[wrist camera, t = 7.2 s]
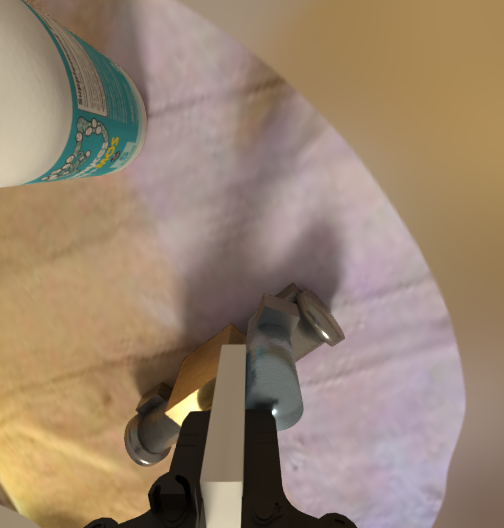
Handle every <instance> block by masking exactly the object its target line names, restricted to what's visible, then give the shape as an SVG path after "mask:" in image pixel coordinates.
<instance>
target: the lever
mask: <svg viewBox="0 0 504 528" xmlns="http://www.w3.org/2000/svg"><path fill="white" fill-rule="evenodd" d="M299 320H300V315H299V311H298V308H297V304H294V303H291V302H289V301H286V300H283V299H280V298H277V297H274V296H271V295H268V294H265V293H264V295H263V297H262V300H261V302H260V304H259V307H258V309H257V311H256V313H255V314H253V315H252V316H251V318H250V319H249V322H248V330H247V334H246V337H245V339H244V341H243V344H242V345H244V344H246V387H245V409H270V410H271V412H272V414H273V416H274V417H275V419H276V427H277V431H281V430H285V429H288V428H290V427H292V426H293V425H295V424H296V423H297V422H298V421H299V420H300V418H301V416H302V414H303V402H302V396H301V391H300V386H299V381H298V375H297V370H296V365H295V360H294V354H293V349H292V344H291V339H290V338H291V336H292V334H293V332H294V330H295V328H296V326H297V324H298V322H299ZM207 411H211V409H210V410H207Z"/></svg>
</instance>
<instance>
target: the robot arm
mask: <svg viewBox="0 0 504 528" xmlns="http://www.w3.org/2000/svg"><path fill="white" fill-rule="evenodd" d="M245 387H246V344H244V345H222V348H221V354H220V360H219V366H218V372H217V379H216V385H215V391H214V397H213V403H212V409H211V411H190V412H189V413H188V415H187V416H186V418H185V419H184V420H183V422H182V425H181V429H180V432H179V437H178V440H177V444H176V448H175V451H174V455H173V458H172V462H171V466H170V470H169V472H167V473H166V474H164V475H162V476H160V477H159V478H158V479H157V480H156V481H155V483H154V484H153V485H152V487H151V489H150V491H149V493H148V498H149V502H150V507H151V509H150V510H149V511H147V512H146V513H144V514H142V515H140V516H139V517H136V518H134V519H131V520H128V521H126V522H123V523H121V524H118V523H117V522H116V521H115V520H113V519H112V518H103V517H102V518H99V519H97V520H94V521H92V522H90V523H89V524H88V525H86V526H85V527H83V528H357V527H356V525H355V524H354V523H353V522H352V521H351V520H350V519H348V518H347V517H346V516H344V515H341V514H338V513H327V514H325V515H324V516H322V517H321V518H319V519H318V518H315V517H313V516H310V515H307V514H305V513H303V512H301V511H299V510H297V509H296V508H295V507H293V506H292V505H291V504H290V502H289V501H288V500H287V498H286V496H285V494H284V491H283V487H282V478H281V468H280V458H279V448H278V438H277V427H276V419H275V417H274V416H273V414H272V412H271V410H270V409H245Z"/></svg>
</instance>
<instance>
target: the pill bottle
mask: <svg viewBox="0 0 504 528" xmlns="http://www.w3.org/2000/svg"><path fill="white" fill-rule="evenodd" d="M146 133H147V116H146V110H145V106H144V103H143V100H142V97H141V95H140V93H139V91H138V89H137V87H136V86H135V84H134V83H133V81H132V80H131V78H130V77H129V76H128V75H127V74H126V72H125V71H124V70H123V69H122V68H121V67H119V66H118V65H117V64H116V63H114V62H113V61H112V60H110V59H109V58H108V57H106V56H105V55H103V54H102V53H100V52H99V51H97V50H96V49H95V48H93V47H92V46H90V45H89V44H87V43H86V42H84V41H83V40H81V39H80V38H79V37H77V36H76V35H74V34H73V33H71V32H70V31H68V30H67V29H65V28H64V27H62V26H61V25H60V24H58V23H57V22H55V21H54V20H53V19H51V18H50V17H48V16H47V15H45V14H44V13H42V12H41V11H39V10H38V9H37V8H35V7H34V6H32V5H31V4H29V3H28V2H26V1H25V0H0V187H9V186H19V185H26V184H34V183H42V182H50V181H58V180H66V179H75V178H84V177H91V176H100V175H106V174H111V173H115V172H118V171H120V170H122V169H124V168H126V167H127V166H128V165H130V164H131V163H132V162H133V161H134V160H135V159H136V157H137V156H138V155H139V153H140V151H141V150H142V147H143V145H144V142H145V138H146Z"/></svg>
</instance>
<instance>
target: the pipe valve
mask: <svg viewBox="0 0 504 528" xmlns="http://www.w3.org/2000/svg"><path fill="white" fill-rule="evenodd" d="M275 297H277V298H280V299H283V300H286V301H289V302H291V303H294V304H297V308H298V311H299V315H300V320H299V322H298V324H297V326H296V328H295V330H294V332H293V334H292V336H291V338H290V339H291V344H292V349H293V354H294V360H295V362H297V361H298V360H300V359H301V358H303V357H304V356H306V355H307V354H309V353H310V352H312V351H313V350H315V349H316V348H318V347H319V346H321V345H322V344H324V343H325V342H326V343H327V344H329V345H330V346H332V347H333V346H335V345H336V344H338V343H339V342H341V341H342V340H344V339H345V336H344V334H343V332H342V330H341V328H340V326H339V325H338V323H337V322H336V320H335V319H334V317H333V316H332V314H331V313H330V312H329V310H328V309H327V308H326V306H325V305H324V304H323V303H322V301H321V300H320V299H319V298H318V297H317V296H316V295H315V294H314V293H313V292H312V291H311V290H310V289H308V288H307V289H306V290H304V291H303V292H301V291H300V290H299V289H298V288H297V287H296V286H295V285H294V283H292V284H291V285H290V286H288V287H287V288H286V289H284V290H283V291H282V292H280V293H279V294H278V295H277V296H275ZM244 339H245V336H244V335H243V334H242V333H241V332H240V331H239V330H238V329H237V328H236V327H235V326H234V325H233V324H232V323H231V324H229V325H228V326H227V327H226V328H224V329H223V330H222V331H220V332H219V333H218V334H216V335H215V336H214V337H212V338H211V339H210V340H209V341H207V342H206V343H205V344H203V345H202V346H201V347H199V348H198V349H197V350H195V351H194V352H193V353H192V354H190V355H189V356H188V357H186V358H185V359H184V360H183V363H182V366H181V369H180V371H179V374H178V377H177V380H176V383H175V385H174V388H173V391H172V390H171V389H170V388H169V387H167V386H166V385H165V384H164V383H163V382H162V383H160V384H159V385H158V386H156V387H155V388H154V389H152V390H151V391H150V392H148V393H147V394H146V395H144V396H143V397H142V398H141V400H140V402H139V404H138V406H137V408H136V411H137V412H138V414H137V415H135V416H134V417H133V418H132V419H131V420H130V421H129V422H128V424H127V426H126V429H125V434H124V441H125V447H126V450H127V452H128V454H129V456H130V457H131V459H132V460H133V461H134V462H135V463H137V464H138V465H141V466H144V467H150V466H153V465H155V464H157V463H158V462H160V461H161V460H163V459H164V458H165V457H166V456H167V455H168V453H169V452H170V449H171V446H172V445H173V444H175V443H176V442H177V440H178V437H179V432H180V429H181V425H182V422H183V420H184V419H185V418H186V416H187V415H188V413H189V412H190V411H207V410H210V409H212V403H213V397H214V391H215V385H216V379H217V372H218V366H219V360H220V354H221V348H222V345H242V344H243V341H244Z"/></svg>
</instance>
